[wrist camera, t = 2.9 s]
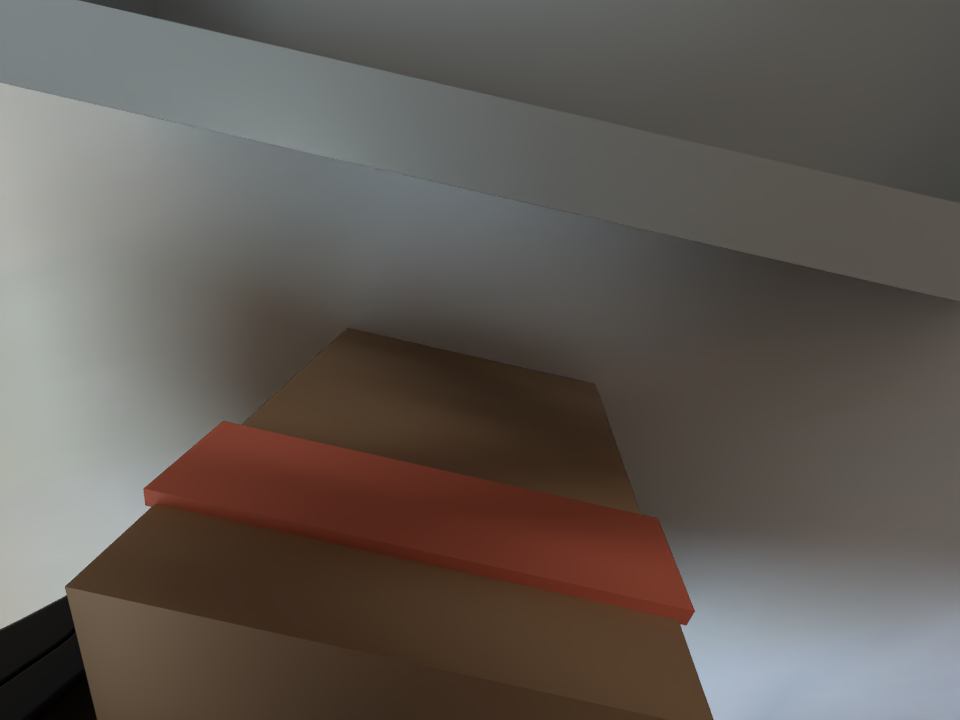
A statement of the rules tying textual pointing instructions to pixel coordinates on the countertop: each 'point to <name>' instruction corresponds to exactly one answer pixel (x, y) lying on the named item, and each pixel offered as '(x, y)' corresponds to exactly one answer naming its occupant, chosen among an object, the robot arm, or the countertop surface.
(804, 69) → the tray
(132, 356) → the countertop surface
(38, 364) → the countertop surface
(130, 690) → the block
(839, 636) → the countertop surface
